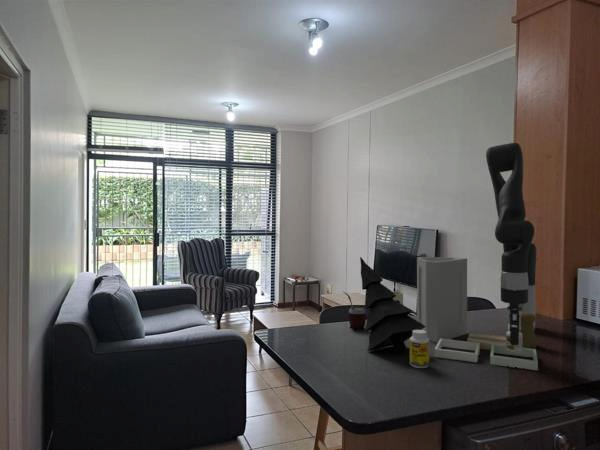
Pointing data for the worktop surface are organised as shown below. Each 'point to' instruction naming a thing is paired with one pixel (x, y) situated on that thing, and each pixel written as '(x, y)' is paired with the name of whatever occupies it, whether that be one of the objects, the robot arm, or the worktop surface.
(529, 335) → the cork
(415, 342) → the supplement bottle
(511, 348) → the pill bottle
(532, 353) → the sage tray
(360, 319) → the mate gourd
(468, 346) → the offwhite tray
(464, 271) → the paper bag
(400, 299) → the character mug
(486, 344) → the birch board
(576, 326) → the worktop surface
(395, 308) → the decorative tree
